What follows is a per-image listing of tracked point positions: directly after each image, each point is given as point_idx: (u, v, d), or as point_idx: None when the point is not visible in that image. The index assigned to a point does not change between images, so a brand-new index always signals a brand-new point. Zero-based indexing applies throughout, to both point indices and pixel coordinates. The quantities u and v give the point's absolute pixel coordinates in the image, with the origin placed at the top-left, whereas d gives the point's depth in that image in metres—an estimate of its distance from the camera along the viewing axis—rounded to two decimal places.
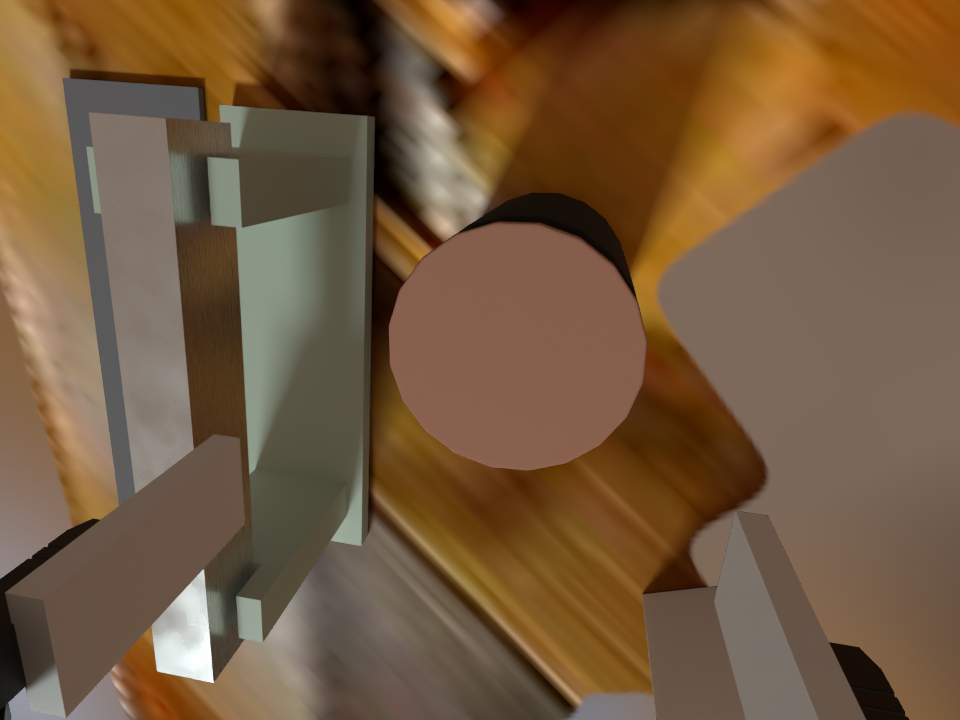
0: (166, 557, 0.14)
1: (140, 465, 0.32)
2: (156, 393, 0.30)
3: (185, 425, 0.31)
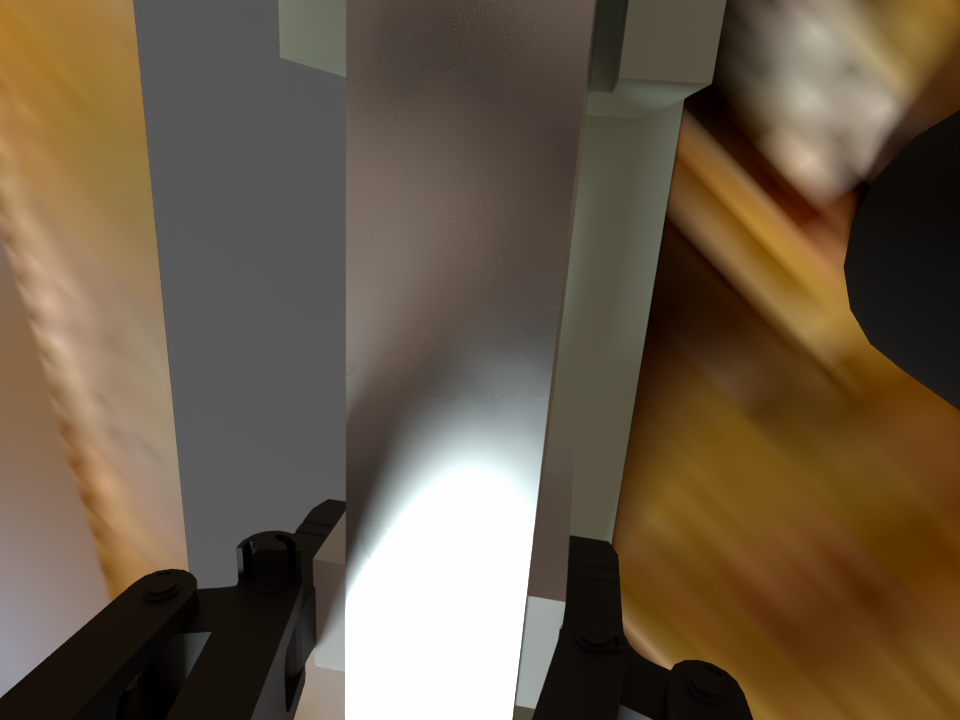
0: None
1: (367, 691, 0.13)
2: (439, 533, 0.12)
3: (507, 611, 0.12)
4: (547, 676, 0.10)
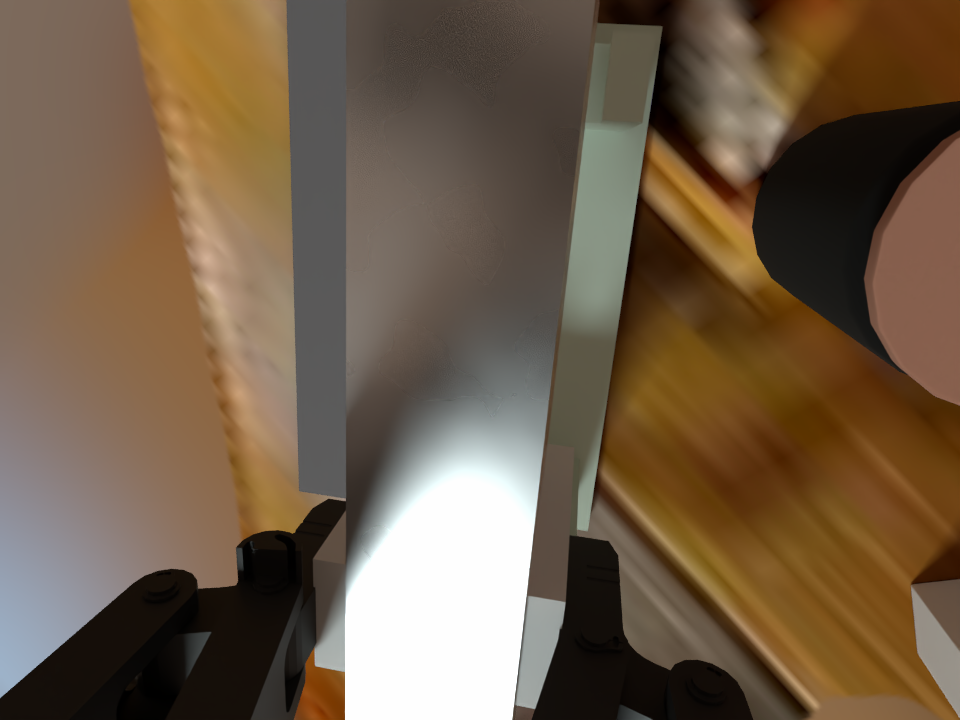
0: None
1: (368, 691, 0.13)
2: (439, 533, 0.12)
3: (507, 612, 0.12)
4: (547, 676, 0.10)
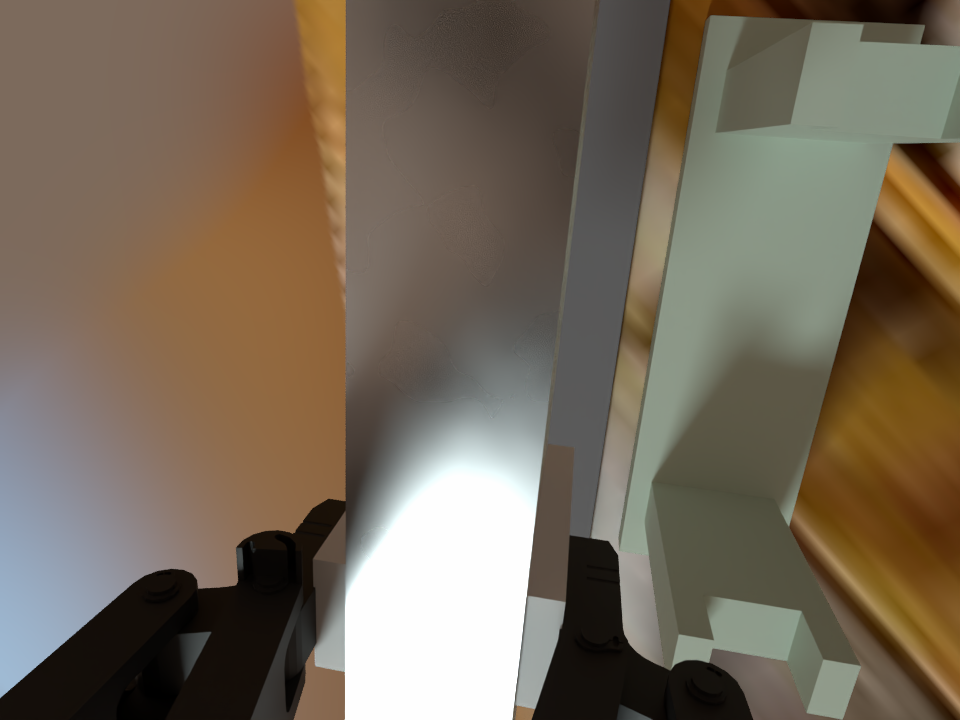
0: None
1: (367, 692, 0.13)
2: (439, 534, 0.12)
3: (507, 612, 0.12)
4: (547, 676, 0.10)
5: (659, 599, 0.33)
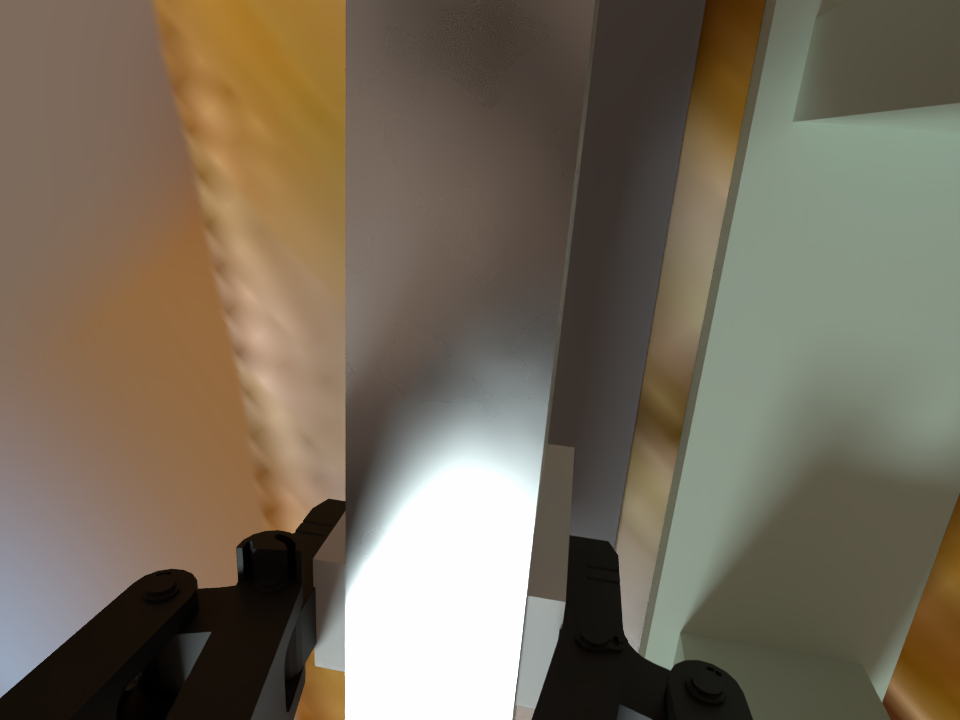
0: None
1: (367, 693, 0.13)
2: (439, 535, 0.12)
3: (507, 613, 0.12)
4: (547, 676, 0.10)
5: None
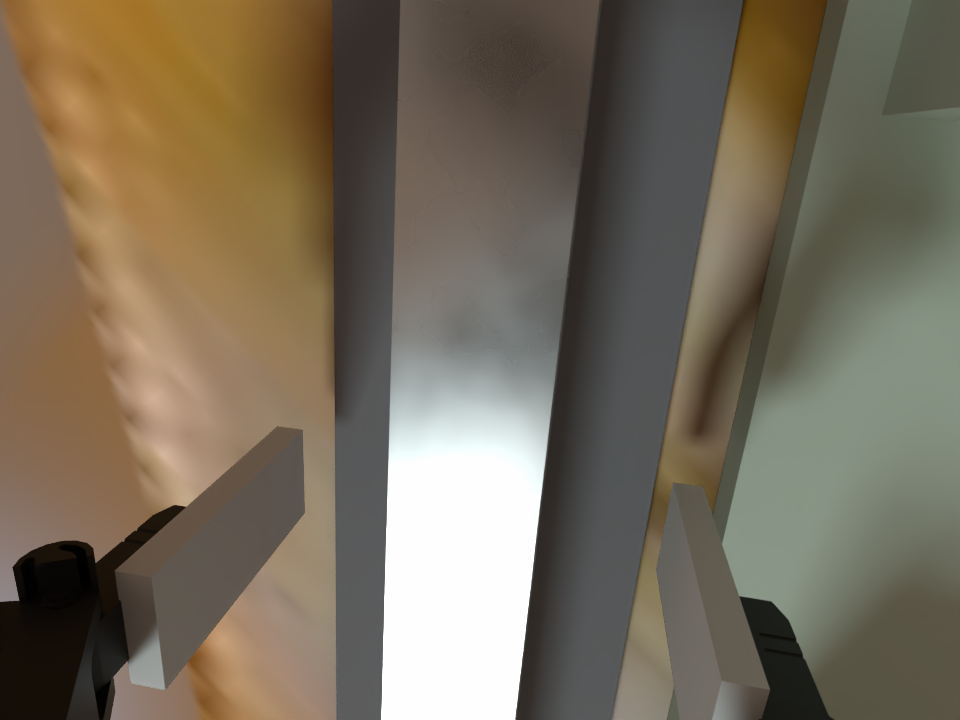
0: (244, 542, 0.15)
1: (403, 606, 0.16)
2: (466, 466, 0.14)
3: (522, 532, 0.14)
4: None
5: None
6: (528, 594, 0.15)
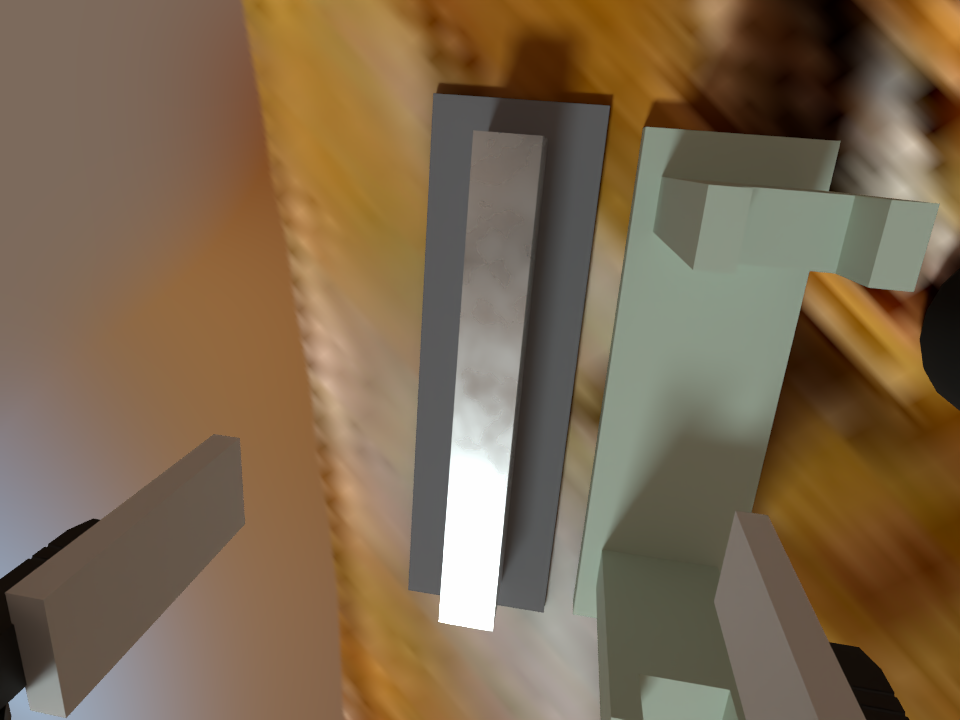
0: (166, 557, 0.14)
1: (460, 433, 0.37)
2: (488, 370, 0.35)
3: (510, 397, 0.35)
4: None
5: (601, 673, 0.35)
6: (512, 425, 0.36)
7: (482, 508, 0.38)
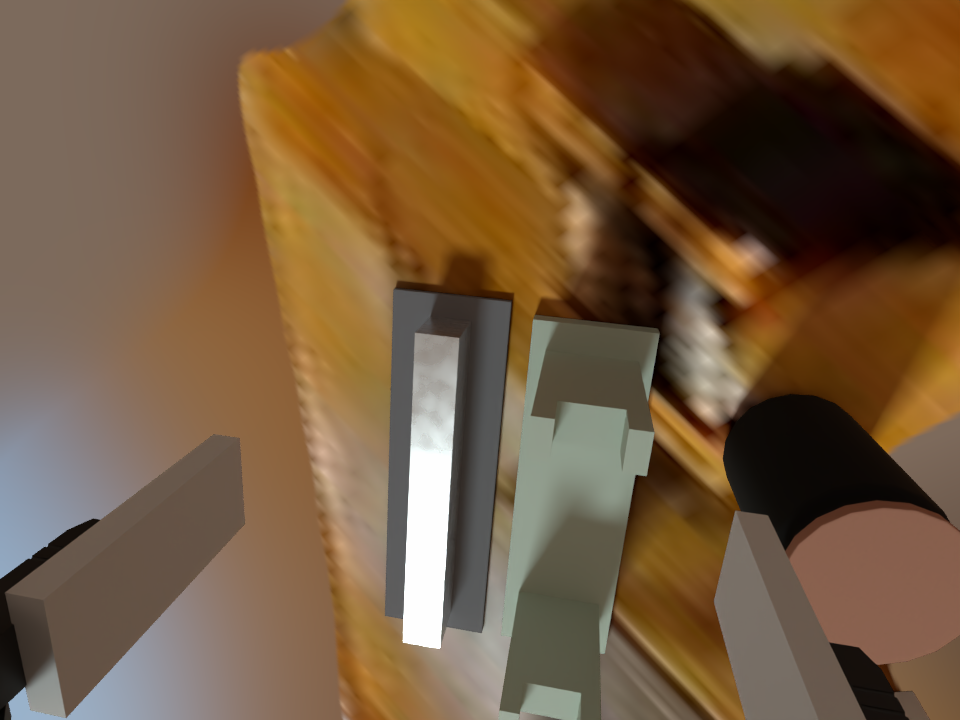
0: (166, 557, 0.14)
1: (413, 518, 0.54)
2: (430, 478, 0.52)
3: (445, 496, 0.53)
4: None
5: None
6: (448, 513, 0.53)
7: (429, 567, 0.55)
